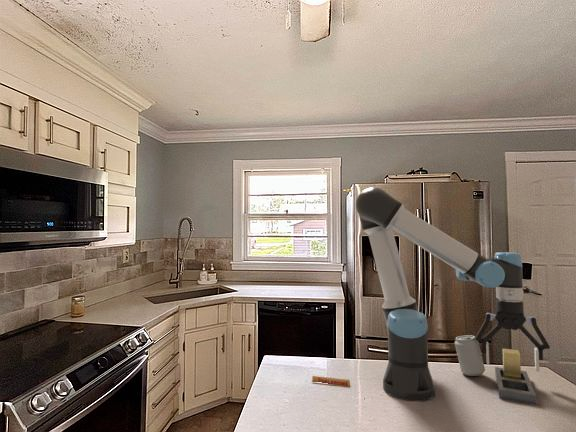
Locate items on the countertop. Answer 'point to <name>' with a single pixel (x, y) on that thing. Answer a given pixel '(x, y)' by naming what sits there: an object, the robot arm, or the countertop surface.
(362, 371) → the countertop surface
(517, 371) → the brass block
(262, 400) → the countertop surface
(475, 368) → the can
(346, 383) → the chocolate bar
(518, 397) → the rack
